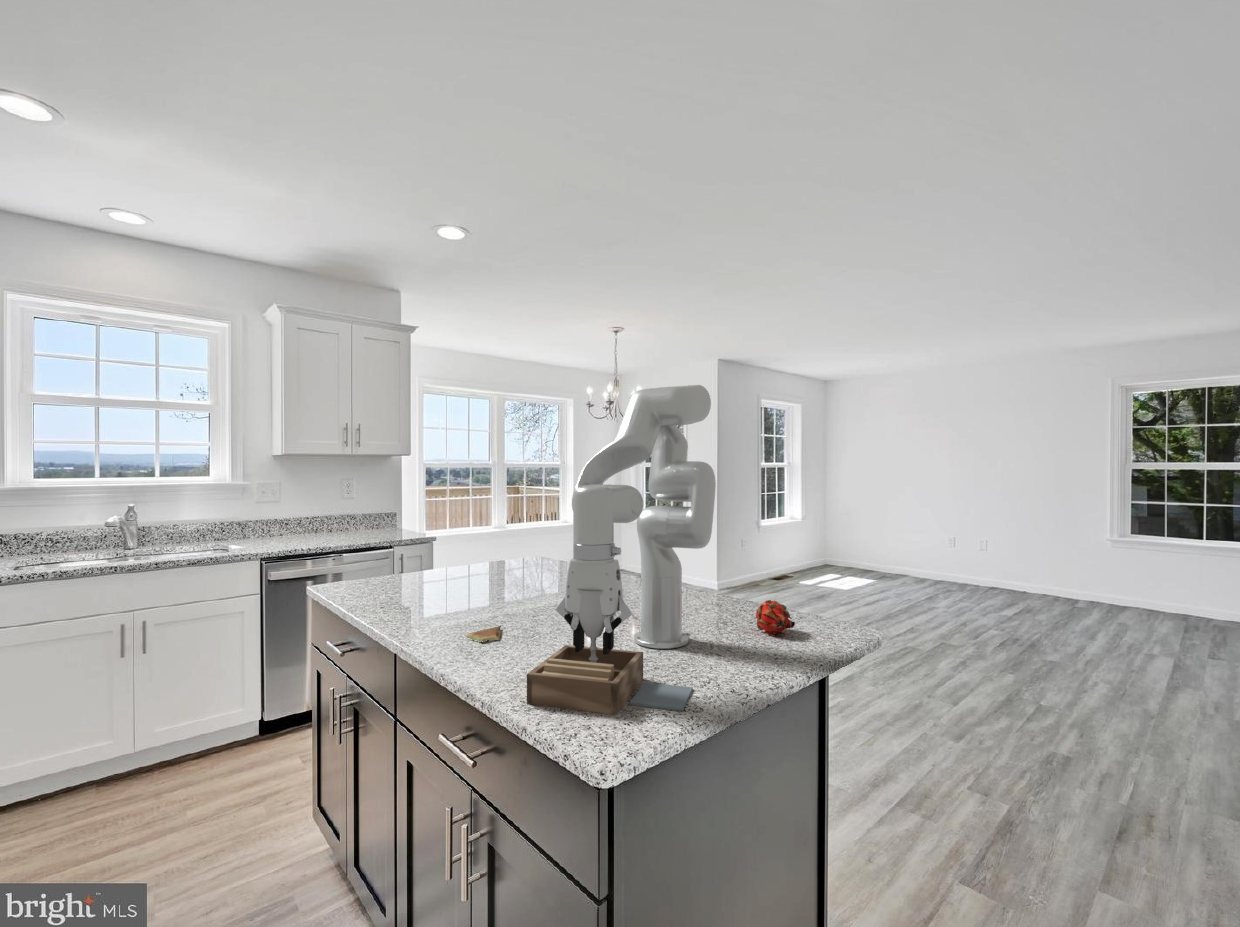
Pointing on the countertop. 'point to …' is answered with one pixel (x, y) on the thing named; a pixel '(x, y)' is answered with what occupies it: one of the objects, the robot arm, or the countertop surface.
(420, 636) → the countertop surface
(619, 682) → the frame
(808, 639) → the countertop surface
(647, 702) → the mat
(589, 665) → the offcut stack
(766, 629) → the dragon fruit
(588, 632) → the chalice
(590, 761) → the countertop surface
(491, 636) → the shard
